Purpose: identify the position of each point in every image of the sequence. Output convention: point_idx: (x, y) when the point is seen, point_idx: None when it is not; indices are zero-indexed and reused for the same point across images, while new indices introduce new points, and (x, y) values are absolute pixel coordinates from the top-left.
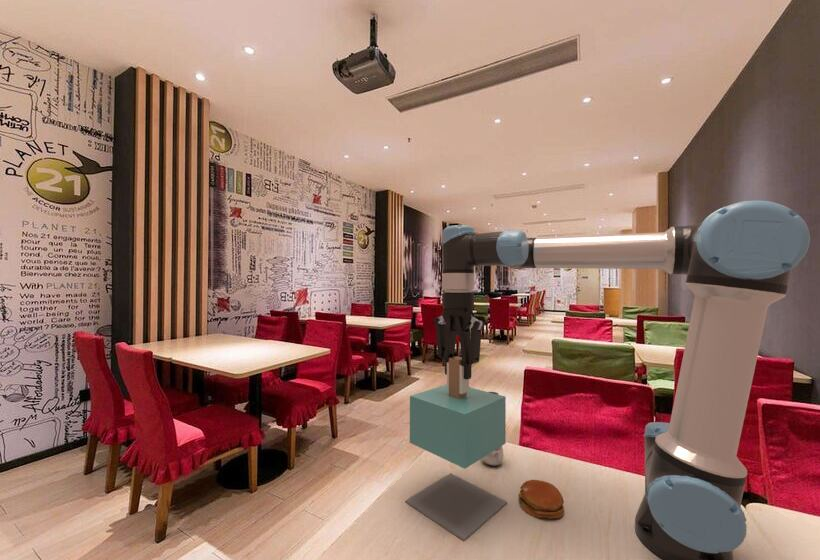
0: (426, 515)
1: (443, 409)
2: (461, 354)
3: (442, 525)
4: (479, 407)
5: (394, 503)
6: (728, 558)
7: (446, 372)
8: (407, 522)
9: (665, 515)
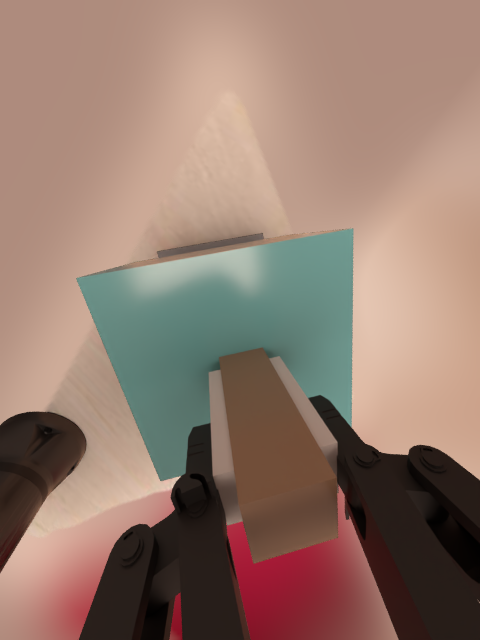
0: (221, 240)
1: (182, 258)
2: (229, 580)
3: (192, 245)
4: (115, 364)
5: (269, 218)
6: None
7: (319, 403)
8: (226, 209)
9: None
